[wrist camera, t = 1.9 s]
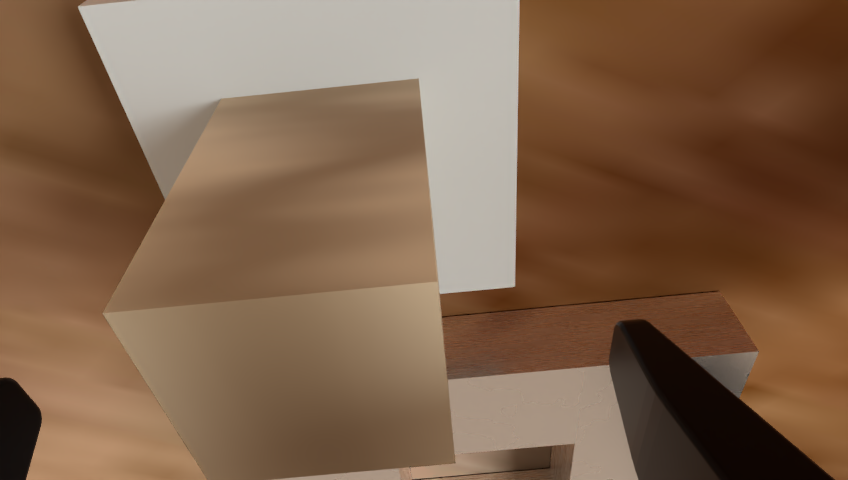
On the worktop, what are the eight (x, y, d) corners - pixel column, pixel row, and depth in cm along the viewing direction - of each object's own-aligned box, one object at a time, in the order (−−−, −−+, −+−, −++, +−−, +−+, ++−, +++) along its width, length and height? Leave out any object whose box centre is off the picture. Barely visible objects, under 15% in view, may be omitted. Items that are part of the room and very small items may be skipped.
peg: (418, 78, 11) (436, 280, 7) (434, 235, 14) (455, 463, 9) (221, 98, 11) (102, 313, 7) (271, 250, 14) (210, 484, 9)
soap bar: (502, -64, 12) (520, -41, 10) (503, 240, 17) (515, 286, 15) (119, -22, 12) (78, 6, 10) (233, 266, 17) (217, 314, 15)
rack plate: (719, 291, 18) (764, 359, 16) (650, 503, 27) (673, 566, 25) (230, 337, 19) (209, 410, 16) (317, 532, 27) (311, 596, 25)
